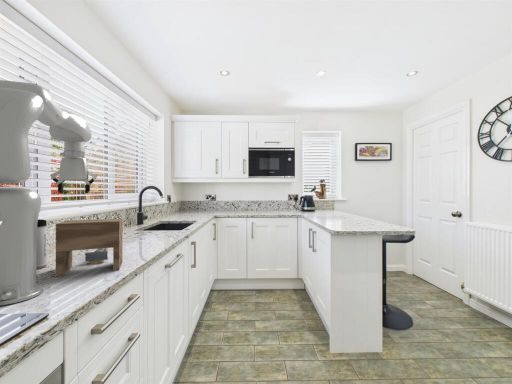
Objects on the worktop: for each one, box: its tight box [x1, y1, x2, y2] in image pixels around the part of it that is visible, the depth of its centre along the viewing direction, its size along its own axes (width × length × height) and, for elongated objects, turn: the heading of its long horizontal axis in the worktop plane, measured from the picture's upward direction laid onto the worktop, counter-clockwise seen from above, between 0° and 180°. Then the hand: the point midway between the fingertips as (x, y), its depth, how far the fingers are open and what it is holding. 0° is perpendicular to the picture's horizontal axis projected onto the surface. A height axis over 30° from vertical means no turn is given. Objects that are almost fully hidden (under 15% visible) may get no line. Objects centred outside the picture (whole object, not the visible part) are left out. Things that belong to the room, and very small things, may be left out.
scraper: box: [84, 248, 109, 263], centre depth 114 cm, size 19×8×7 cm, turn 23°
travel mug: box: [36, 218, 48, 271], centre depth 98 cm, size 6×7×20 cm
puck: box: [87, 260, 105, 265], centre depth 107 cm, size 6×6×2 cm
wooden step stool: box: [55, 218, 124, 278], centre depth 97 cm, size 13×20×19 cm, turn 113°
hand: (74, 193), depth 111 cm, fingers open, 9 cm apart
